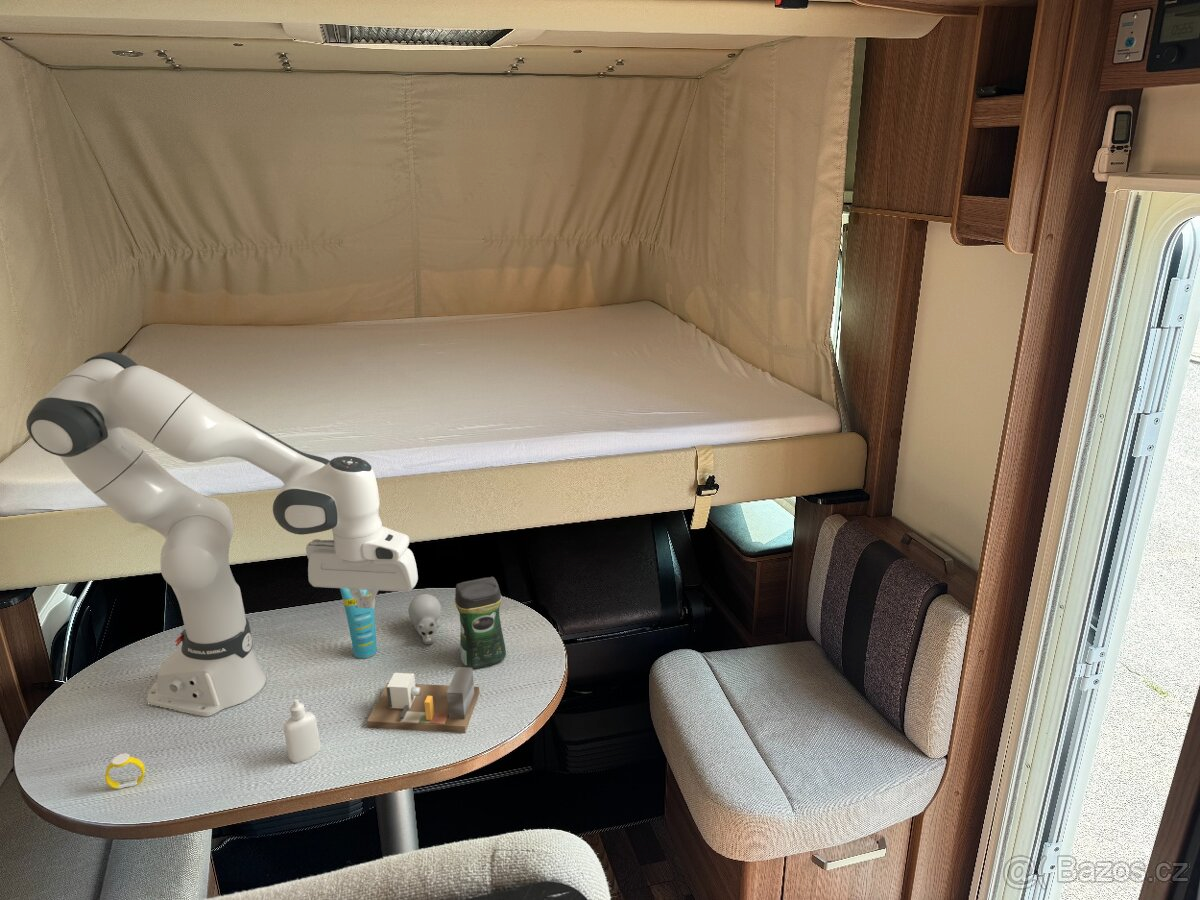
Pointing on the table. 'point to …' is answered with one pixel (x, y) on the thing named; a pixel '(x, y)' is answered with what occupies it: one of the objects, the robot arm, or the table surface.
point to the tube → (360, 625)
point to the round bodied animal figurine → (425, 616)
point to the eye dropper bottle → (301, 734)
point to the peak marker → (429, 707)
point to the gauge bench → (448, 704)
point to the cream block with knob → (402, 692)
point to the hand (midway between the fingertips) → (366, 606)
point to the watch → (122, 761)
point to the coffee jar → (480, 622)
